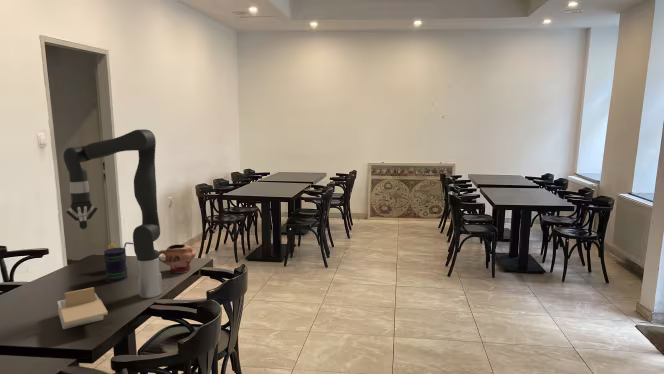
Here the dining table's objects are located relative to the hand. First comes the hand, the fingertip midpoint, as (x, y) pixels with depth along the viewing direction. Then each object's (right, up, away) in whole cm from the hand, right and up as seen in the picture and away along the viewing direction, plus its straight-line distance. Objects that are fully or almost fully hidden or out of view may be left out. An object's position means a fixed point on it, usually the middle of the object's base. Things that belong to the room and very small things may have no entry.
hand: (83, 228), depth 198 cm
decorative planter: (+31, -26, +33) cm, 52 cm away
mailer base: (+11, -34, -22) cm, 42 cm away
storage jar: (+4, -28, +22) cm, 36 cm away
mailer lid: (+18, -29, -32) cm, 46 cm away
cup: (-1, -26, +37) cm, 45 cm away
